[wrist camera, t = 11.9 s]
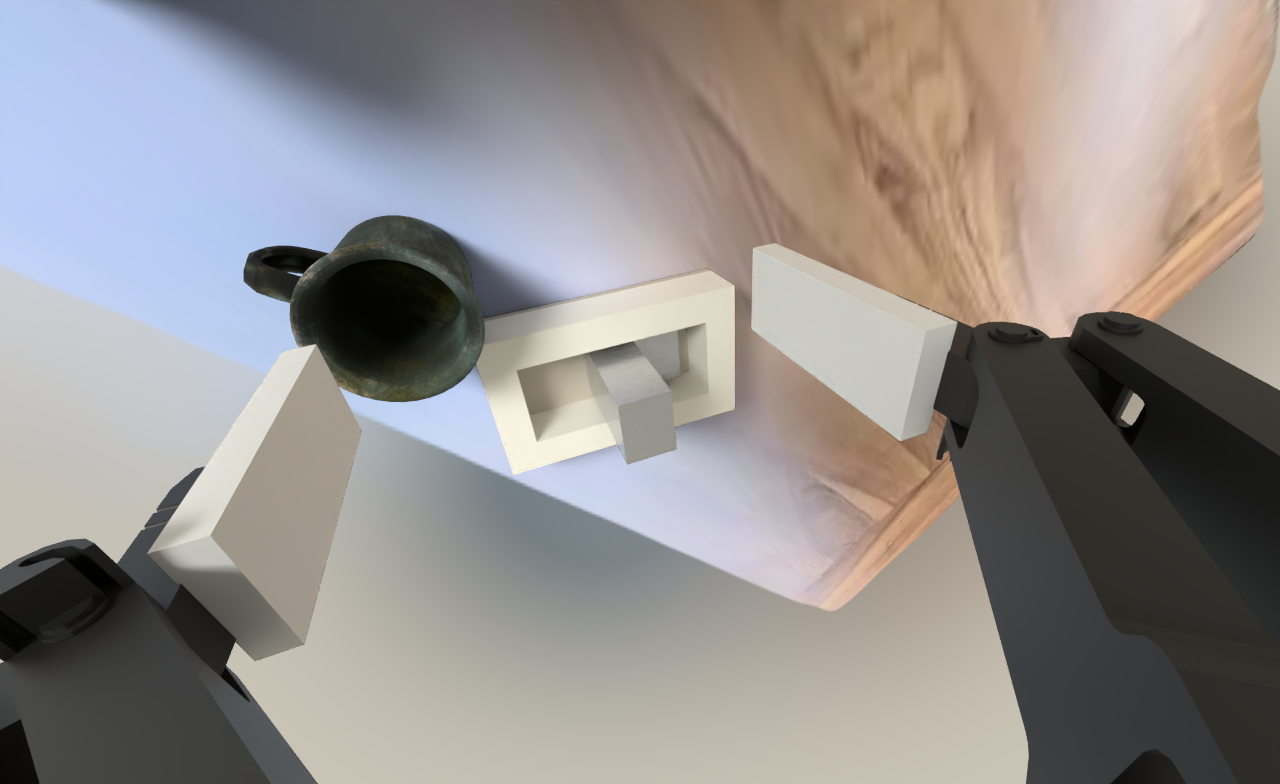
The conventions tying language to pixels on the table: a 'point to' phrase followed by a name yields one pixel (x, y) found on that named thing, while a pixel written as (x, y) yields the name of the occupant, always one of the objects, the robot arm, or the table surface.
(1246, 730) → the robot arm
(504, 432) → the well block
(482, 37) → the table surface
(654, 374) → the grey l-shaped block
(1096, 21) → the table surface
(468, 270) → the mug
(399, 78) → the table surface
